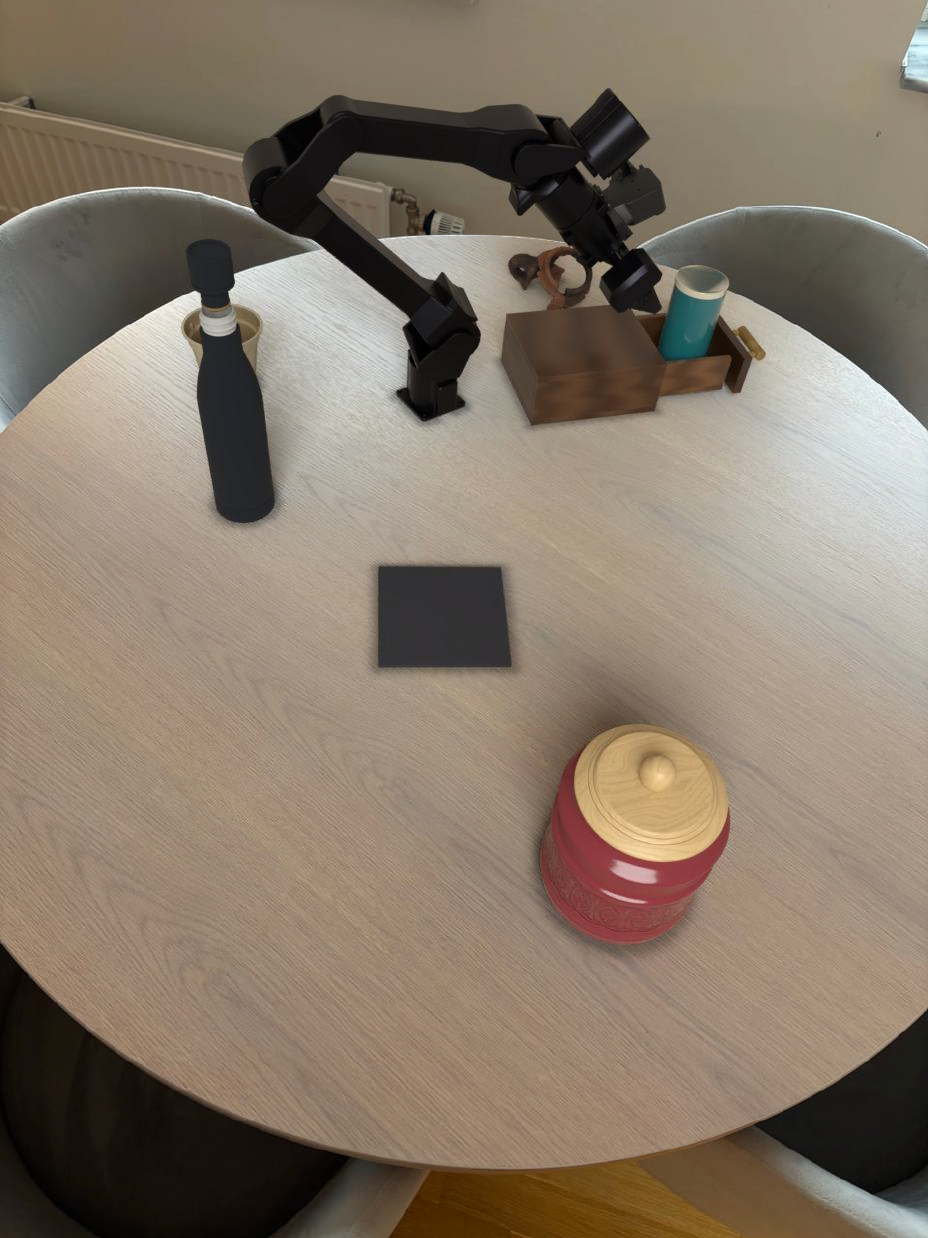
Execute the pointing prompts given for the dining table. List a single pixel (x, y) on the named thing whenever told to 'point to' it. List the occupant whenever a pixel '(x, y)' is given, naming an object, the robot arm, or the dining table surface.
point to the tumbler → (692, 313)
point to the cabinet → (581, 363)
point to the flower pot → (248, 326)
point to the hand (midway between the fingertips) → (644, 289)
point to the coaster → (442, 617)
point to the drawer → (707, 359)
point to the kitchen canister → (633, 833)
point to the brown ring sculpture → (550, 275)
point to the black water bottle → (229, 393)
